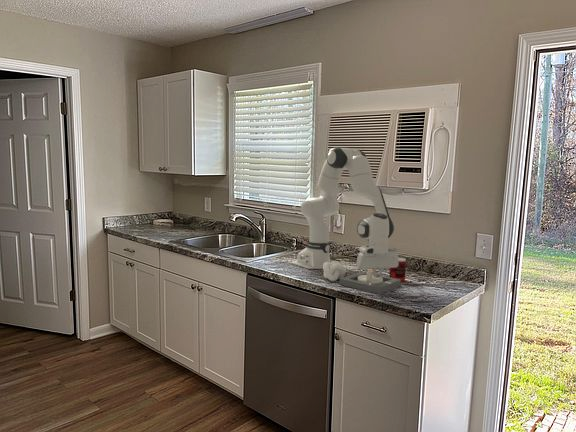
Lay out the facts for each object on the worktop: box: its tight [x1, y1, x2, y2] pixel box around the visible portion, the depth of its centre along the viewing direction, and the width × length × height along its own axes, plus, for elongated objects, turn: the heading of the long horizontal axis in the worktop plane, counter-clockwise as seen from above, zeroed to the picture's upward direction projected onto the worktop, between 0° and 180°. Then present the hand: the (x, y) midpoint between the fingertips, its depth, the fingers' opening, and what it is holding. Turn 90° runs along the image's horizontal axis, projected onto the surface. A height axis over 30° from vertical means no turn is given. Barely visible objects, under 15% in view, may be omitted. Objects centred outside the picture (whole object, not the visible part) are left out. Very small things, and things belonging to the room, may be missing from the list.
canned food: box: [388, 257, 407, 283], centre depth 226 cm, size 8×8×11 cm
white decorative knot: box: [322, 260, 347, 282], centre depth 224 cm, size 11×12×9 cm
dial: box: [358, 269, 383, 285], centre depth 215 cm, size 12×12×6 cm
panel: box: [338, 271, 402, 295], centre depth 216 cm, size 22×20×3 cm
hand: (377, 277), depth 211 cm, fingers closed
